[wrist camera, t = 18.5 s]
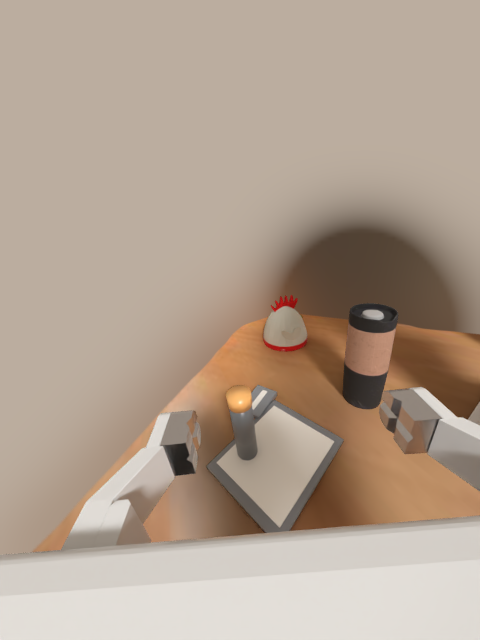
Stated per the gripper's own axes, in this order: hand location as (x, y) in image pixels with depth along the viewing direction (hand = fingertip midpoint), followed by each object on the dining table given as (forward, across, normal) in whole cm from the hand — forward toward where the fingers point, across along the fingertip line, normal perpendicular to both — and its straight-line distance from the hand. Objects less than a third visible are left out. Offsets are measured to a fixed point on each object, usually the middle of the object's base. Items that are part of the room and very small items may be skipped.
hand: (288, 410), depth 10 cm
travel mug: (+29, -21, +30) cm, 47 cm away
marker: (+19, +4, +29) cm, 35 cm away
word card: (+30, +1, +30) cm, 43 cm away
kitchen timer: (+56, -10, +30) cm, 65 cm away
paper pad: (+18, -1, +30) cm, 35 cm away
